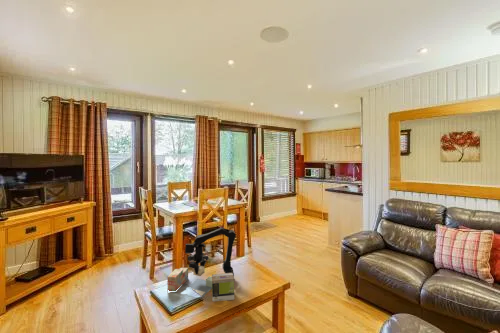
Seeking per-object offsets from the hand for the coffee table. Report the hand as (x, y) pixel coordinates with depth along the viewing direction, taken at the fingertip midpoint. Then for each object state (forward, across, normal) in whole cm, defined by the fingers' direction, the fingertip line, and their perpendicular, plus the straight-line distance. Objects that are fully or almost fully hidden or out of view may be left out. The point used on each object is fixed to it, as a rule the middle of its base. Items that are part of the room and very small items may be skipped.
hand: (199, 272), depth 189 cm
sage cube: (+8, 0, +10) cm, 13 cm away
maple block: (+1, 0, 0) cm, 1 cm away
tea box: (+9, +10, +26) cm, 29 cm away
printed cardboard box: (+9, +9, -12) cm, 18 cm away
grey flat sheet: (+8, +7, +5) cm, 12 cm away
